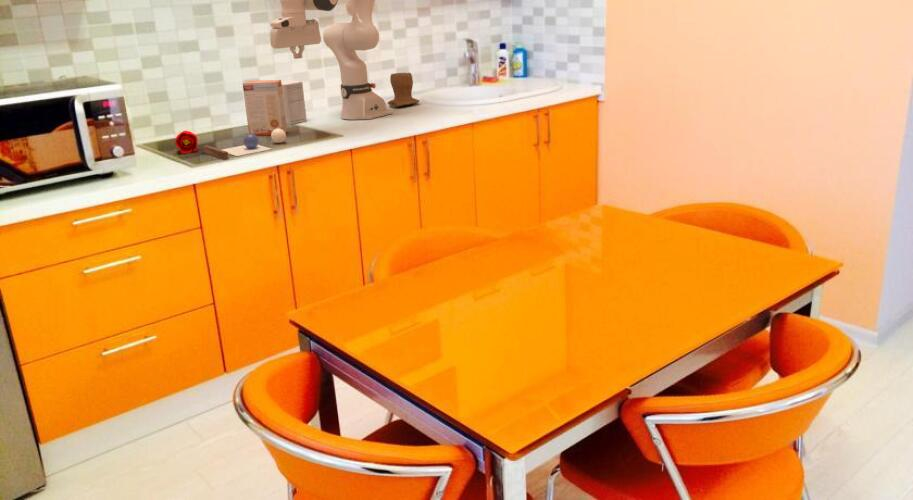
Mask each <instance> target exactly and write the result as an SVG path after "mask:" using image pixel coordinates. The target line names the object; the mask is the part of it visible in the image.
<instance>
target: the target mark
mask: <svg viewBox="0 0 913 500" xmlns="http://www.w3.org/2000/svg"><path fill="white" fill-rule="evenodd" d="M221 150H223V151H226V152H228V155H231V156H234V157H241V156H247V155H250V154H256V153H261V152H266V151H270V150H272V148H271V147H267V146H264V145H260V144H258V146H257V147H256V148H254V149H249V148H247V147H245V145H244V144H243V145H239V146H233V147H227V148H224V149H223V148H222V149H221Z"/></svg>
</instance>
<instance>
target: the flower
mask: <svg viewBox="0 0 913 500" xmlns="http://www.w3.org/2000/svg"><path fill="white" fill-rule="evenodd" d="M174 143H175V145H176V147H177V149H179V152H180V153H181V154H184V153H185V154H187V153H188V154H191V152H195V151H197V150H198V137H197V134H195V133H193V132H191V131H189V130H182V131H181V132H180V133H178V134H177V135H176V138H175V142H174Z"/></svg>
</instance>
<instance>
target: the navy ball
mask: <svg viewBox="0 0 913 500" xmlns="http://www.w3.org/2000/svg"><path fill="white" fill-rule="evenodd" d="M242 143H243V145H245V147H247V148H249V149H254V148H256V147H257V146H258V145H259V143H260V141H259V138H258V135H254V134H249V133H248V134H246V135H245V136H244V137H243V140H242Z"/></svg>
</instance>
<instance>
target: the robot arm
mask: <svg viewBox="0 0 913 500" xmlns="http://www.w3.org/2000/svg"><path fill="white" fill-rule="evenodd" d="M338 1H339V0H279V2H280V6H281V16H280V17H278V18H275V19H273V20H271V21H270V27H271V29H270V32H269V33H270V34H269V39H270V40H269V41H270V46H271V47H272V48H273V49H275V50H276V49H277V50H278V49H285V48H289V50H290V51H291V53H292V55H293V56H292V57H293V59H295V60H296V59H303V54H304V50H305V46H310V45H311V46H312V45H319V44H320V43H321V42H322V39H323V43H324V44H325V45H326V46H327V48H329V49H330V51H332V53H333V55H334V56H335V58H336V60H337V63H338V66H339V72H340V80H341V84H340V93H341V94H340V95H341V97H342V98H341V99H342V100H341V101H342V104H341V114H340V118H341V119H343V120H355V121H356V120H372V119H377V118H380V117H385V116H387V115H392V113H393V112H392V110H390V109H387V105H386V104H387V103H386V101H385V99H384V98H383V97H381V96H380V95H378V94H377V93H375V91H373V89H376V87H377V84H376V83H370V82H368V70H367V68H368V67H367V64H366V62H365V61H364V60H362V59H361V58H360V57H359V56H358V55H357V53H356V52H357V51H368V50H373V49H375V48H376V47H377V45H378V44H379V41H380V34H379V30H378V29H377V27H376V26H375V24H374V23H373V17H372V16H373V10H374V6H375V3H376V0H346V3H345V4H346V5H345V8H346V11H347V13H348V15H350V16H351V21H350V22H336V23H335V22H334V23H332V24H327V25H326V27H325V28H324V30H323V34H322V36H321V31H320V27H319V25H320V24H319V22H318V21H317V20H316V19H314V18H312V19H307V16H306V11H325V12H330V11H332V10H334V8H335V7H336V6H337V5H338ZM297 49H298V52H297V51H296V50H297Z"/></svg>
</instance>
